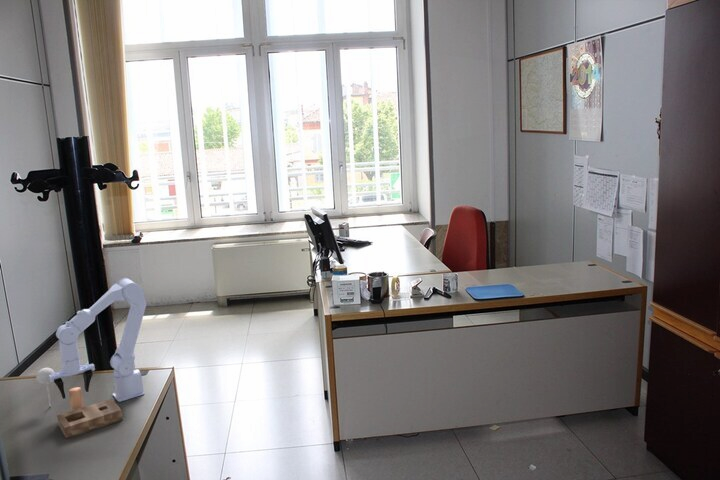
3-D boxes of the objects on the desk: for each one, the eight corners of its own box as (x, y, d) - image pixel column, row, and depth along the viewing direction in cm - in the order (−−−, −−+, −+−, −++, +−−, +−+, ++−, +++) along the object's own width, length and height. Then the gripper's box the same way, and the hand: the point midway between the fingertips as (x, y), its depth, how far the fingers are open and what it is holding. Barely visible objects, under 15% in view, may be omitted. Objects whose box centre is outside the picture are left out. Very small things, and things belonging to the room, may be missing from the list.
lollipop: (51, 411, 214) (45, 372, 211) (37, 410, 216) (31, 371, 212) (63, 403, 220) (57, 365, 217) (49, 402, 222) (43, 364, 218)
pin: (82, 406, 217) (79, 386, 215) (85, 410, 214) (82, 390, 212) (70, 410, 215) (67, 389, 213) (73, 414, 212) (70, 393, 210)
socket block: (113, 408, 215) (111, 398, 214) (122, 420, 206) (121, 409, 205) (58, 426, 204) (56, 415, 203) (66, 439, 195) (64, 427, 194)
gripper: (89, 349, 218) (93, 384, 220) (45, 360, 209) (50, 396, 212) (94, 355, 212) (99, 390, 215) (49, 366, 203) (55, 403, 206)
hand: (75, 394), depth 213 cm, fingers open, 7 cm apart
